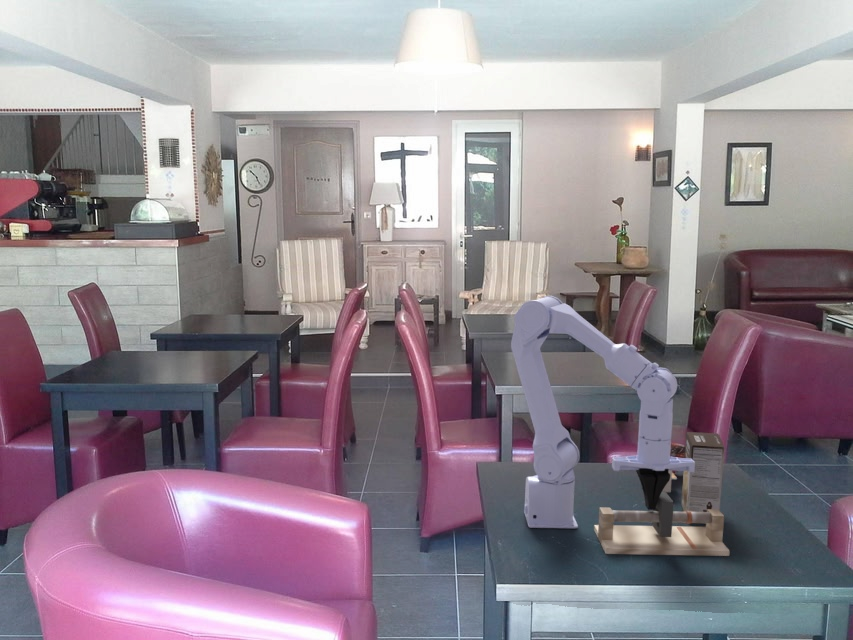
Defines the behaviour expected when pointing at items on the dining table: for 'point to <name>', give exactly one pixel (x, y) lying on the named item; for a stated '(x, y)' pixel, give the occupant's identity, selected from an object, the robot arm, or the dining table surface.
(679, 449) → the decorative bird figurine
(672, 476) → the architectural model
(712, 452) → the coffee box
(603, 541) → the pipe board
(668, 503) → the upright gray tile
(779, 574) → the dining table surface
